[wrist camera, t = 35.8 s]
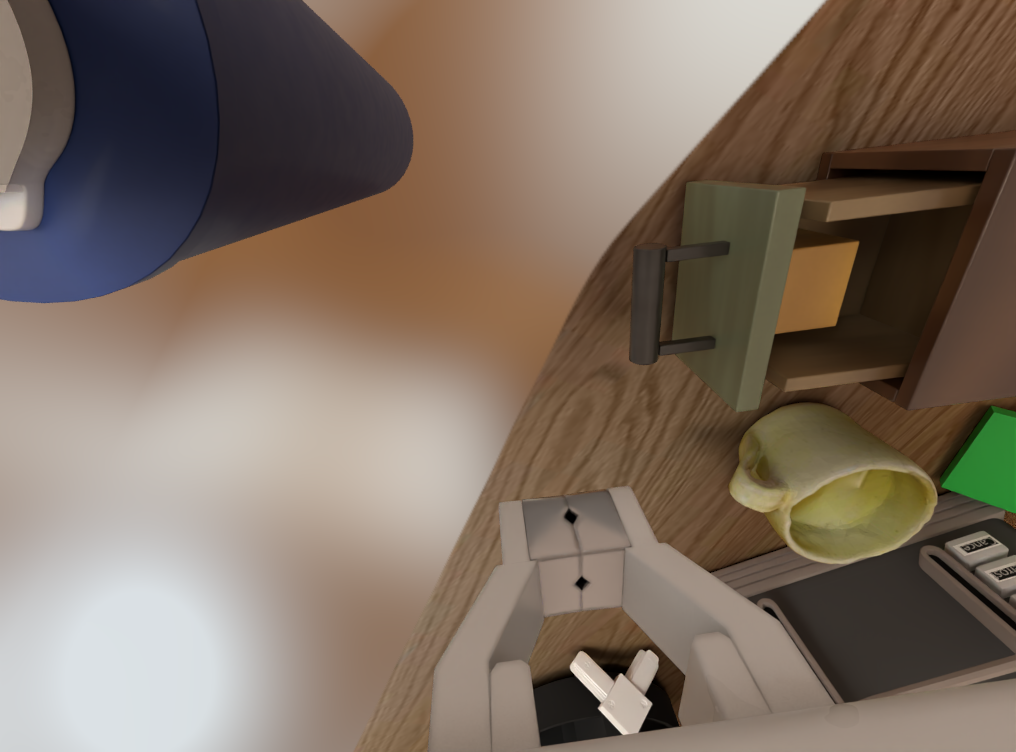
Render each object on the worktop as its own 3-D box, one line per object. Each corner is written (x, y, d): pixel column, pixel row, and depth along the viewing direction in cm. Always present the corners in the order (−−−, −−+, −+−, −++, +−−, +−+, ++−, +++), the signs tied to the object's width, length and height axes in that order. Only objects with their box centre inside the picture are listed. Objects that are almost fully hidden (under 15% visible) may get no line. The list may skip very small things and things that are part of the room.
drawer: (604, 359, 28) (648, 424, 21) (605, 191, 23) (663, 204, 16) (849, 327, 28) (973, 381, 21) (902, 156, 23) (1085, 153, 16)
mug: (914, 410, 30) (1005, 534, 23) (803, 479, 37) (846, 591, 30) (770, 346, 30) (816, 453, 22) (683, 428, 37) (697, 530, 29)
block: (711, 310, 25) (754, 337, 22) (721, 237, 23) (770, 252, 19) (780, 301, 26) (836, 326, 22) (796, 227, 23) (861, 240, 20)
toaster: (974, 448, 35) (1360, 669, 20) (941, 653, 51) (1140, 861, 36) (640, 564, 39) (749, 825, 24) (707, 721, 55) (798, 937, 40)
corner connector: (604, 614, 48) (608, 609, 47) (664, 670, 45) (670, 666, 44) (564, 673, 44) (567, 669, 43) (629, 741, 40) (634, 739, 39)
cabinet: (780, 338, 29) (907, 411, 21) (822, 152, 24) (1018, 148, 15) (965, 314, 29) (1166, 376, 21) (1049, 126, 24) (1367, 106, 15)
